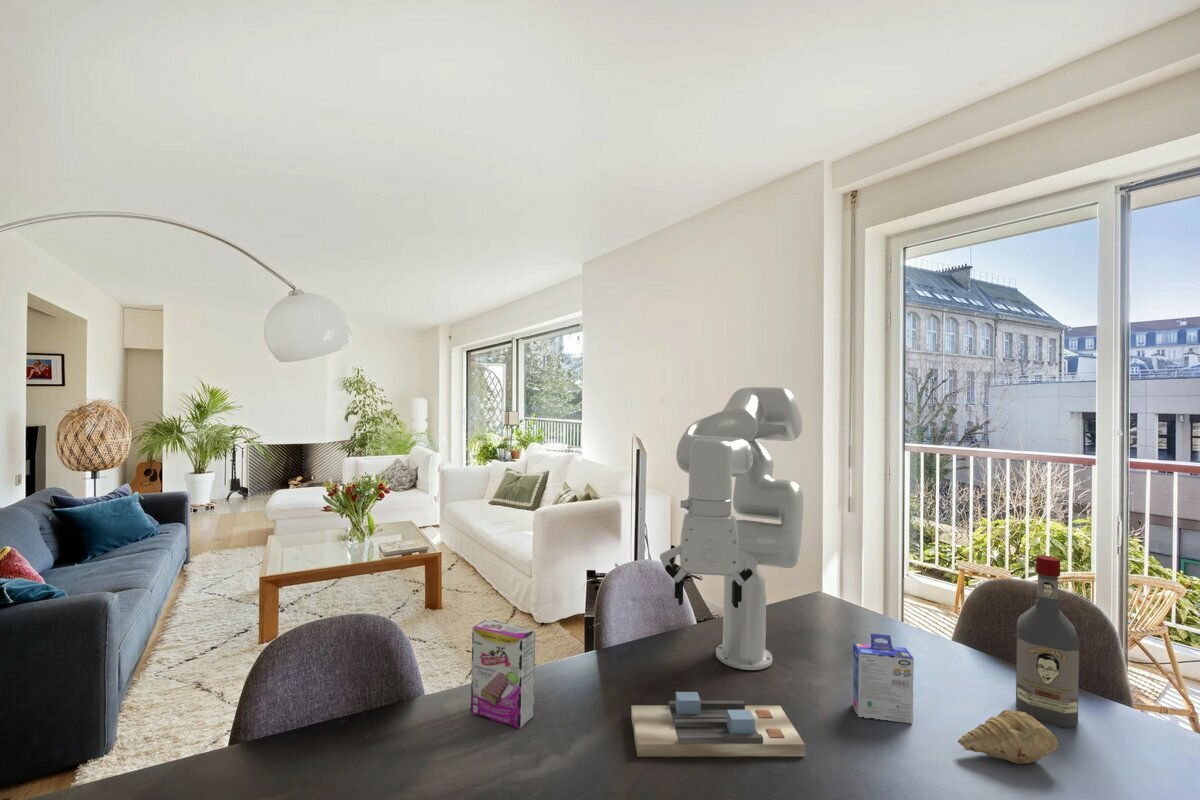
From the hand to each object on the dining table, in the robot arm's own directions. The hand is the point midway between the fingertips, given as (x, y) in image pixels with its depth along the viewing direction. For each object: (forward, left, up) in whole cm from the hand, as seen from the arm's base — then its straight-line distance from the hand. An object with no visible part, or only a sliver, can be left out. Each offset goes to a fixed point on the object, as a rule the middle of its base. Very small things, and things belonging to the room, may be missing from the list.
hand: (707, 604), depth 101 cm
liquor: (-6, +67, -23) cm, 71 cm away
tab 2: (+4, +5, -20) cm, 21 cm away
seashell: (+8, +48, -23) cm, 54 cm away
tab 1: (-2, -3, -20) cm, 21 cm away
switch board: (+1, +1, -23) cm, 23 cm away
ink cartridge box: (-6, +35, -23) cm, 42 cm away
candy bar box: (-5, -37, -23) cm, 44 cm away
